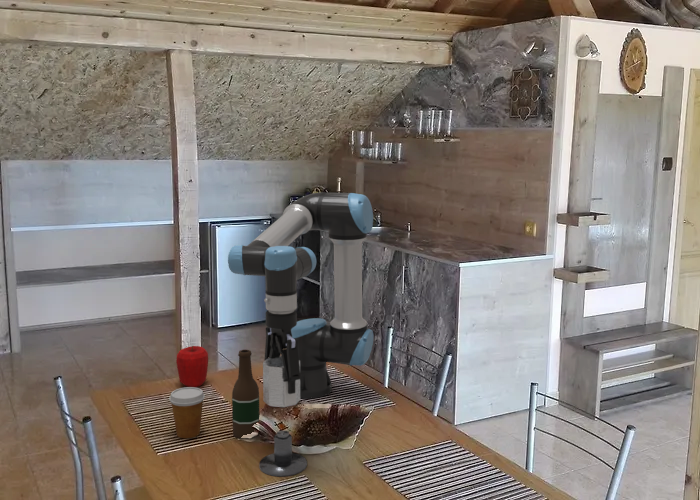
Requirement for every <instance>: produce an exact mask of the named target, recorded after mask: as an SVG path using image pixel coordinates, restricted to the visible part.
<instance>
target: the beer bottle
mask: <svg viewBox="0 0 700 500" xmlns="http://www.w3.org/2000/svg"><path fill="white" fill-rule="evenodd" d="M237 356H238V358H239V359H238V377H237V379H236V381H235V383H234V386H233V388H232V393H231V409H232V415H231V416H232V435H233V437H235V438H237V439H239V440H241V439H240V438H241V437H242V436H243V435H247V434H251V433H252V432H254V429H253V428H252V426H253V425H254V424H256V423H257V422H259V417H260V413H261V411H260V390H259V388H260V387H259V386H258V383H257V382H256V380H255V378H254V377H253V368H252V359H251V357H252V351H251V350H250V349H241V350H239V351H238V354H237Z"/></svg>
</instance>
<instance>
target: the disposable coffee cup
mask: <svg viewBox="0 0 700 500" xmlns="http://www.w3.org/2000/svg"><path fill="white" fill-rule="evenodd" d="M203 391H204V390H203V389H201V388H199V387H187V386H184V387H180V388H176V389H175V390H173V391H171V393H170V396H169V399H168V400H169V402H170V404H171V409H172V414H173V420H174V425H175V431H176V437H178V438H180V439H191V438H195V437H198V436H199V435H200V434H201V426H202V425H201V424H202V416H203V415H202V414H203V406H204V405H203V403H204V399H205V395H206V394H204V392H203Z"/></svg>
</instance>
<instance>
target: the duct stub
mask: <svg viewBox="0 0 700 500" xmlns="http://www.w3.org/2000/svg"><path fill="white" fill-rule="evenodd" d="M292 438H293V437H292V435H291V434H290V431H288V430H278V431H277V432H276V434H275V435H274V436H273V448H274V449H273V451H274V452H273V453H271V454H268V455H266V456H264V457H263V458H261V459H260V461H259V464H258V466H259V470H260V471H261V472H262V473H264V474H265V475H268V476H271V477H277V478H278V477H280V478H282V477H284V478H285V477H291V476H292V477H293V476H295V475H298V474H301V473H302V472H303V471H305V470H306V469H307V466H308V461H307V459H306V457H305V456H303V455H301V454H298V453H297V452H296V453H295V452H293V450H292V449H293V443H292V442H293V440H292Z"/></svg>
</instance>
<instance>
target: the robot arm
mask: <svg viewBox="0 0 700 500" xmlns="http://www.w3.org/2000/svg"><path fill="white" fill-rule="evenodd" d="M372 207H373V206H372V204H371V201H370V199H369V197H368V196H366V195H365V194H360V193H354V192H322V191H321V192H320V191H318V192H313V193H310V194H307V195H305V196H302V197H300V198H298V199H297V200H295V201H293V202H292V203H290V204H289V205H288V206H286V208H284V210H283V213H282V214H281V216H280V217H279V218H278V219H276V221H274V222H273V223H271V225H270V226H268V227H267V228H266V229H265V230H264V231H262V232H261V233H260V234H259V235H258V236H257V237H256V238H255V239H253V240H252V241H251V242H249V244H247V245H244V244H241V245H234V246H232V247H231V248H230V250H229V252H228V256H227V263H228V264H227V266H228V269H229V271H230V272H231V273H233V274H235V275H236V274H237V275H241V276H255V277H256V276H257V277H265V278H264V281H265V298H264V300H263V301H264V303H265V309H266V312H265V326H266V327H265V345H264V346H265V348H264V361H265V360H266V359H268V358H276V357H280V356H282V361H283V366H284V367H285V377H286V379H284V380H283V381H284V406H285V407H284V408H286V407H287V408H288V407H291V406H295V405H297V404H296V380H299V379H300V399H317V398H323V397H324V396H327V395H329V394H330V393H331V392H332V390H333V389H332V385H333V384H332V380H331V377H330V375H329V371H328V368H327V363H332V364H338V365H347V366H350V367H351V366H358V367H361V366H363V365H365V364H367V362H368V360H369V358H370V356H371V354H372V353H371V352H372V350H373V344H374V332H373V330H372V329H370V328H368V321H367V320H366V319H365V318H363V273H362V272H363V267H362V266H363V260H362V259H363V255H362V254H363V252H362V250H363V247H362V245H363V242H365V240H366V239H367V236H368V235H367V234H369V233H371V232H372V230H373V227H374V225H373V223H374V213H373V212H374V211H373V208H372ZM309 231H326V232H327V231H328V239H329V240H330V241H331V242H332V243H333V274H334V275H333V278H334V279H333V281H334V283H333V284H334V286H333V287H334V292H333V293H334V318H333V319H332V320H330V323H329V325H328V322H327V320H326V319H324V318H320V317H317V318H315V317H314V318H307V319H301V320H297V319H298V317H297V316H298V314H297V313H298V312H297V307H298V302H297V301H298V300H297V299H298V297H297V296H298V292H297V285H298V283H297V281H298V280H301V279H303V278H305V277H308V276H309V275H310V274H312V272H314V271H315V269H316V266H317V257H316V254H315V253H314V252H313V250H311V249H310V248H309V247H305V246H297V247H293V246H290V245H291V244H292V243H293V242H294V241H295V240H296V239H297V238H298V237H299V236H301V235H304V234H307V233H309ZM264 361H263V362H264ZM299 361H300V367H299Z"/></svg>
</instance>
